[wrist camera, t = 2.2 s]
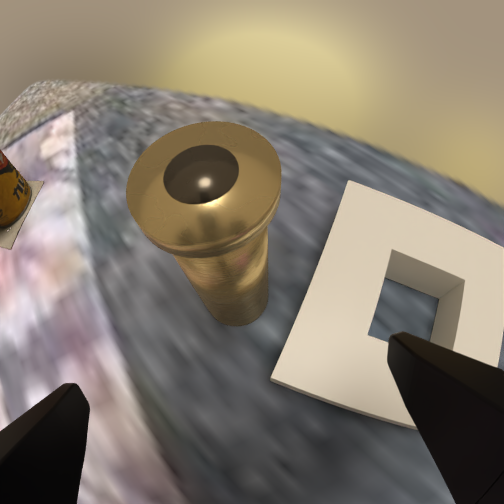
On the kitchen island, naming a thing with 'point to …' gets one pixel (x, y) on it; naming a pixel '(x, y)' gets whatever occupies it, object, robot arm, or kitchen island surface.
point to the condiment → (14, 200)
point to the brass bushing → (211, 211)
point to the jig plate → (367, 294)
